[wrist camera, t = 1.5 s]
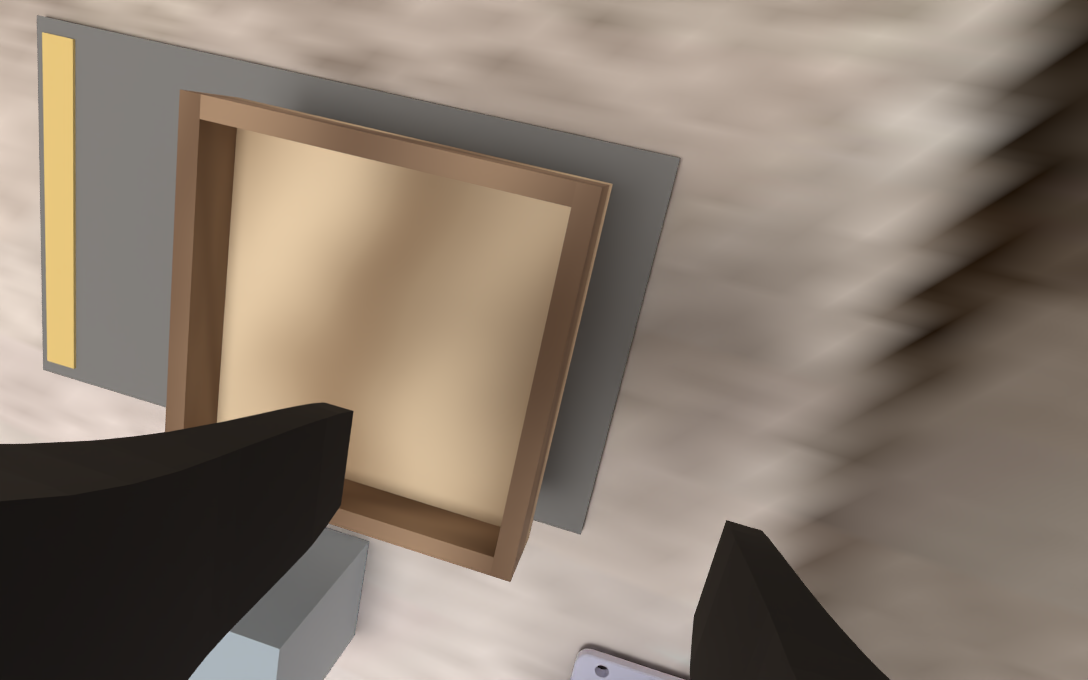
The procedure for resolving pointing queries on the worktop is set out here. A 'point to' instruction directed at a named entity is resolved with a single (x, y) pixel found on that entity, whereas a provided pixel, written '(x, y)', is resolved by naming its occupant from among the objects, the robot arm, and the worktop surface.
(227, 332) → the shallow wooden tray
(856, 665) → the robot arm
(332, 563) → the block
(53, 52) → the plate
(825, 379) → the worktop surface
